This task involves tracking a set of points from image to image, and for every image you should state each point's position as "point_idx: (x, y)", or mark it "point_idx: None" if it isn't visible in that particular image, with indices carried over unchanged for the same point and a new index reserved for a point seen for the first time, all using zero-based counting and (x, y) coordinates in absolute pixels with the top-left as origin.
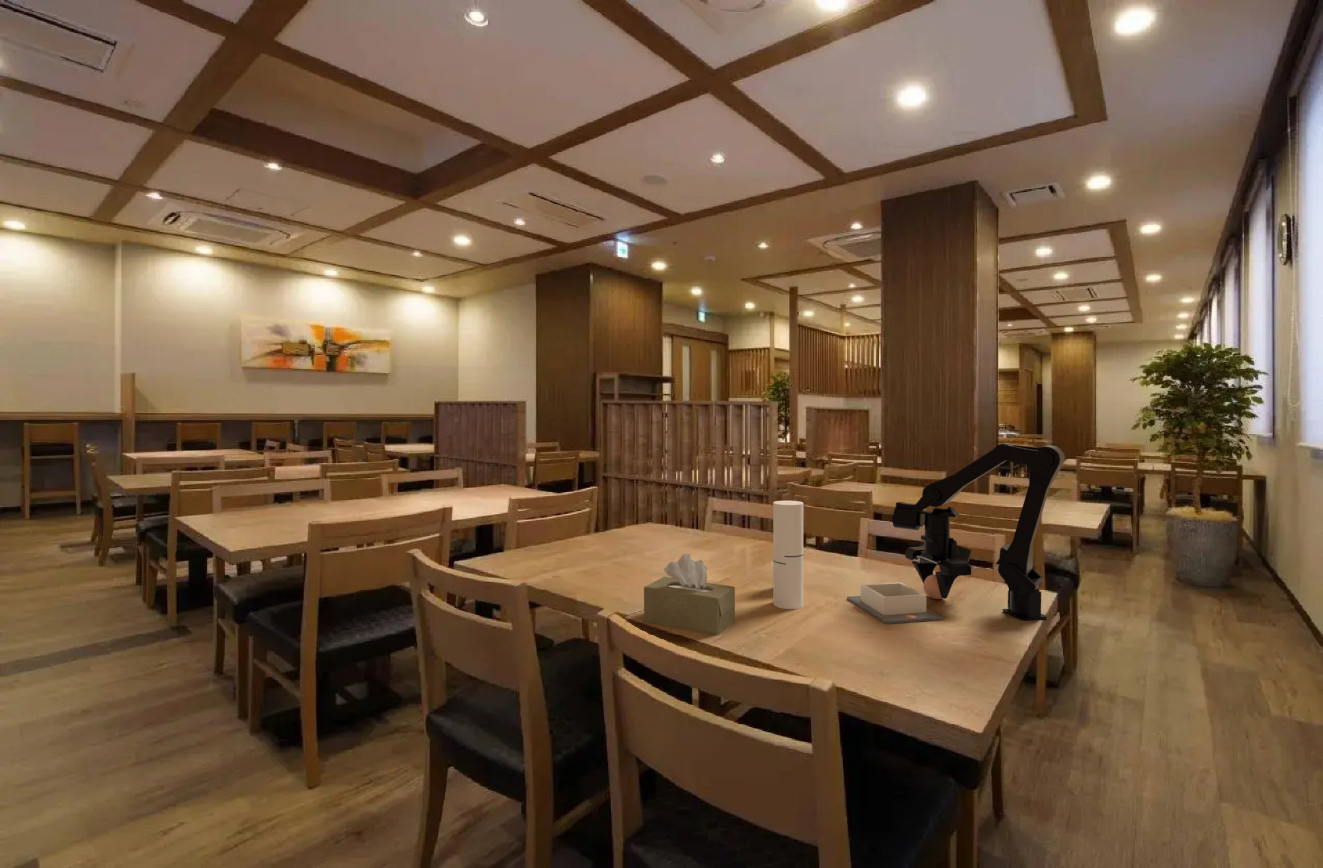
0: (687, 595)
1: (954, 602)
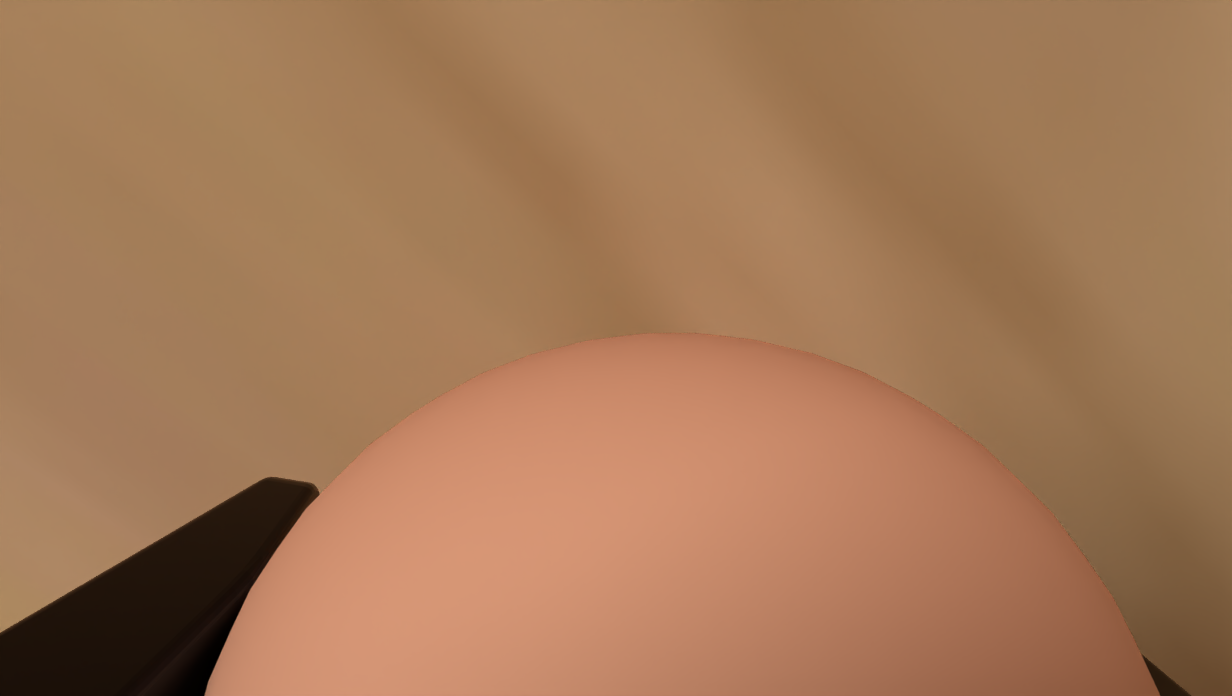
0: None
1: (1152, 338)
